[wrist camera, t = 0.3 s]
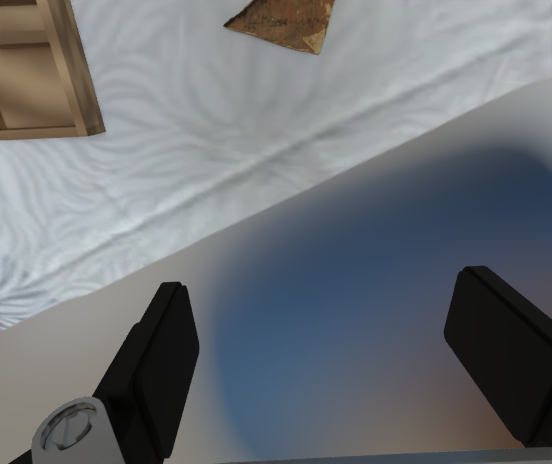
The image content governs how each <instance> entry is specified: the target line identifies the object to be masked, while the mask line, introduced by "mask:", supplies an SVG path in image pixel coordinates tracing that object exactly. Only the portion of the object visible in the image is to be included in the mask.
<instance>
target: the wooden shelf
mask: <svg viewBox="0 0 552 464" xmlns="http://www.w3.org/2000/svg"><path fill="white" fill-rule="evenodd" d="M103 132H106V131H105V127H104V124H103V120H102V116H101V113H100V109H99V105H98V102H97V98H96V95H95V91H94V87H93V84H92V80H91V76H90V73H89V69H88V65H87V62H86V58H85V54H84V51H83V47H82V44H81V40H80V36H79V33H78V29H77V25H76V22H75V18H74V14H73V11H72V7H71V4H70V0H0V140H18V139H40V138H61V137H83V136H91V135H95V134H99V133H103Z"/></svg>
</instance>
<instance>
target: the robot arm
mask: <svg viewBox="0 0 552 464" xmlns="http://www.w3.org/2000/svg"><path fill="white" fill-rule="evenodd" d="M444 337H445V340H446V342H447V343H448V345H449V346H450V348H451V349H452V350H453V352H454V353H455V355H456V356H457V358H458V359H459V360H460V362H461V363H462V364H463V366H464V367H465V369H466V370H467V372H468V373H469V374H470V376H471V377H472V379H473V380H474V382H475V383H476V385H477V386H478V387H479V389H480V390H481V392H482V393H483V395H484V396H485V397H486V399H487V400H488V402H489V403H490V405H491V406H492V407H493V409H494V410H495V412H496V413H497V415H498V416H499V417H500V419H501V420H502V422H503V423H504V425H505V426H506V427H507V429H508V430H509V432H510V433H511V434H512V436H513V437H514V438H515V439H516V440H518V441H521V442H522V444H523V445H524V446H525V448H516V449H493V450H470V451H469V450H468V451H446V452H424V453H402V454H383V455H361V456H343V457H342V456H341V457H324V458H323V457H322V458H303V459H284V460H266V461H248V462H231V463H218V464H552V319H551V318H549V317H548V316H547V315H546V314H544V313H543V312H542V311H541V310H539V309H538V308H537V307H536V306H535V305H533V304H532V303H531V302H530V301H528V300H527V299H526V298H525V297H524V296H522V295H521V294H520V293H519V292H517V291H516V290H515V289H514V288H512V287H511V286H510V285H509V284H508V283H506V282H505V281H504V280H503V279H501V278H500V277H499V276H498V275H496V274H495V273H494V272H492V271H491V270H490V269H489V268H488V267H486V266H467V267H465V268H464V269H463V270H462V271H460V272H459V274H458V276H457V280H456V284H455V288H454V292H453V296H452V300H451V304H450V308H449V312H448V316H447V320H446V324H445V328H444ZM198 355H199V341H198V336H197V332H196V326H195V322H194V317H193V313H192V308H191V304H190V299H189V294H188V290H187V287H186V286H185V285H184V286H182V284H181V283H180V282H163V283H162V284H161V285H160V287H159V289H158V290H157V292H156V294H155V296H154V298H153V299H152V301H151V303H150V304H149V306H148V308H147V310H146V311H145V313H144V315H143V317H142V319H141V321H140V322H139V323H136V324H135V325H134V326H133V327H132V329H131V330H130V332H129V334H128V335H127V337H126V339H125V341H124V342H123V344H122V346H121V347H120V349H119V351H118V353H117V354H116V356H115V358H114V359H113V361H112V363H111V365H110V366H109V368H108V370H107V371H106V373H105V375H104V377H103V378H102V380H101V382H100V383H99V385H98V387H97V389H96V390H95V392H94V394H93V395H92V397H82V398H77V399H74V400H72V401H70V402H68V403H65V404H64V405H62V406H61V407H59V408H58V409H56V410H55V411H53V412H52V413H51V414H50V415H49V416H48V417H47V418H46V419H45V420H44V421H43V422H42V424H41V425H40V426H39V428H38V429H37V431H36V433H35V435H34V437H33V439H32V446H31V449H30V450H28V451H27V452H25V453H24V454H22V455H21V456H19V457H18V458H16V459H15V460H13V461H12V462H10V463H9V464H163V462H164V459H165V458H169V457H170V456H171V453H172V450H173V446H174V443H175V439H176V435H177V431H178V428H179V424H180V421H181V417H182V413H183V410H184V406H185V402H186V399H187V395H188V391H189V388H190V384H191V380H192V377H193V373H194V369H195V366H196V362H197V358H198Z"/></svg>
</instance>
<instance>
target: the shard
mask: <svg viewBox="0 0 552 464" xmlns="http://www.w3.org/2000/svg"><path fill="white" fill-rule="evenodd" d="M334 2H335V0H252V1H251V2H250V3H249V4H248V5H247V6H246V7H245V8H244V9H243V11H241V12H240V13H239V14H237V15H236V16H235V17H233V18H231V19H230V20H229V21H228V22H226V23H225V24H224V25H223V26H224V27H227V28H229V29H233V30H236V31H240V32H245V33H249V34H252V35H256V36H259V37H261V38H263V39H265V40H267V41H271V42H275V43H277V44H279V45H282V46H285V47H290V48H292V49H296V50H299V51H309V52H312V53H314V54H320V51H321V48H322V44H323V40H324V38H325V36H326V31H327V28H328V24H329V19H330V15H331V12H332V8H333V5H334Z"/></svg>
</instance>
